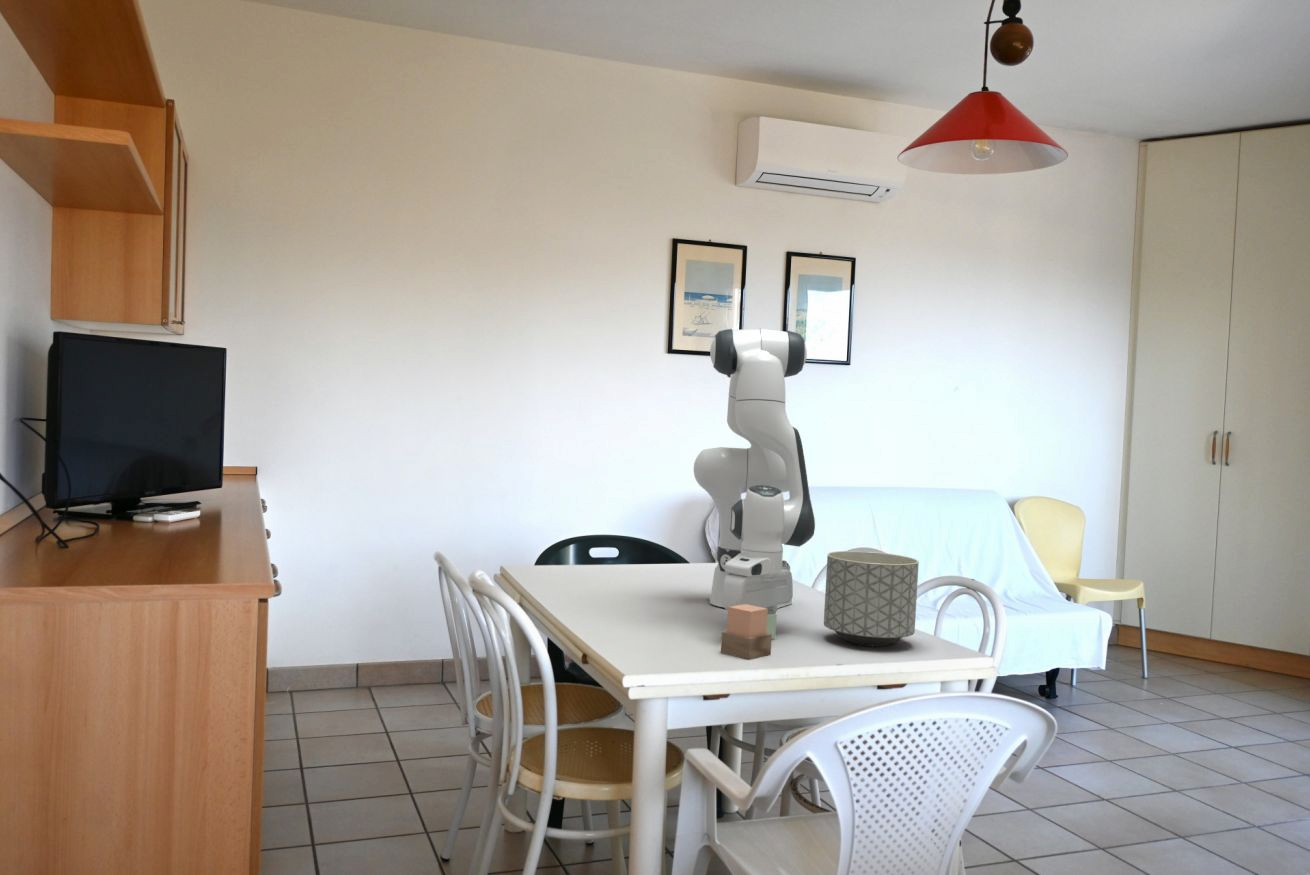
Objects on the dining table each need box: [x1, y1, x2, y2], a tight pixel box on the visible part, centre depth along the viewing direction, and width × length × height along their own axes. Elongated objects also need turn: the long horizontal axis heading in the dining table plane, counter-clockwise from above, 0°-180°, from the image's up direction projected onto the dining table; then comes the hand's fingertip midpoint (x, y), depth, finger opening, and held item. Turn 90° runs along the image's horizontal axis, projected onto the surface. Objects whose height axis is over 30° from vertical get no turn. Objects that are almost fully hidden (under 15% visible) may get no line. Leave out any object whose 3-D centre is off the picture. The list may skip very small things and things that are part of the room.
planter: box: [823, 550, 920, 647], centre depth 213 cm, size 19×19×18 cm
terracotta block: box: [726, 604, 768, 637], centre depth 196 cm, size 6×6×5 cm
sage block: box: [766, 613, 778, 640], centre depth 211 cm, size 6×6×5 cm
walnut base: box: [720, 630, 773, 660], centre depth 196 cm, size 7×7×4 cm
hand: (757, 628), depth 211 cm, fingers closed on sage block, 5 cm apart
